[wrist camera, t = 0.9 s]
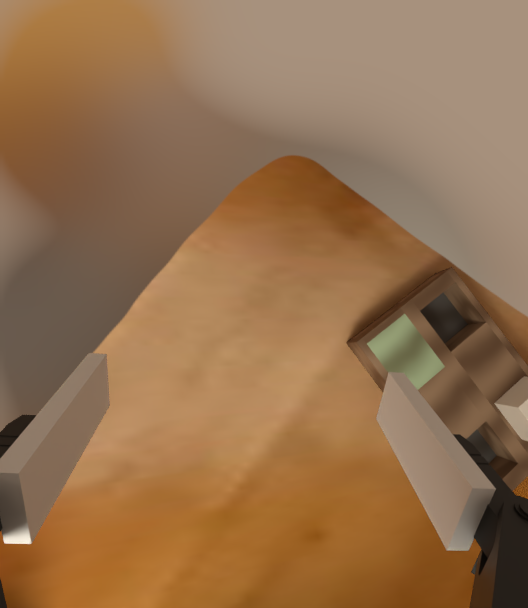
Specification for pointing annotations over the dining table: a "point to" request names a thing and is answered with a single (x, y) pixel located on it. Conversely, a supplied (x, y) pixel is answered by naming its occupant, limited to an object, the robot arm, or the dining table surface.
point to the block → (516, 407)
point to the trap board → (452, 365)
